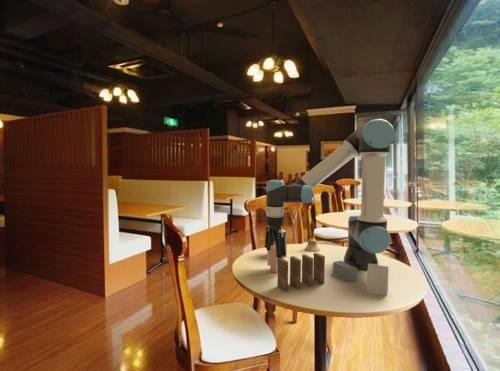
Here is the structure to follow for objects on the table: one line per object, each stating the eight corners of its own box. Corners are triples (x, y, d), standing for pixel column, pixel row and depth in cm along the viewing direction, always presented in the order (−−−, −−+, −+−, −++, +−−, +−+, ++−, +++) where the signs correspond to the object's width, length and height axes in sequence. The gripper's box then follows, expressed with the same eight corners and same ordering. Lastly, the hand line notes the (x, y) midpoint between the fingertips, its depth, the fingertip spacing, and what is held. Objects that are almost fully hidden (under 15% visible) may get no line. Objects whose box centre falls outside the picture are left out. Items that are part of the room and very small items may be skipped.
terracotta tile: (273, 269, 128) (273, 245, 127) (278, 273, 123) (279, 248, 122) (270, 269, 127) (270, 245, 126) (275, 273, 122) (275, 248, 122)
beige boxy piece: (386, 295, 102) (387, 268, 101) (366, 291, 105) (367, 264, 105) (387, 292, 105) (388, 265, 104) (368, 287, 108) (368, 262, 108)
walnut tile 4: (316, 279, 117) (316, 252, 116) (324, 283, 112) (324, 256, 111) (313, 279, 116) (313, 253, 115) (320, 284, 111) (321, 256, 111)
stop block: (340, 271, 125) (340, 260, 124) (357, 280, 116) (357, 268, 115) (332, 273, 123) (333, 261, 123) (349, 281, 114) (349, 269, 114)
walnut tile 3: (305, 281, 114) (305, 254, 114) (312, 286, 110) (313, 258, 109) (301, 282, 114) (302, 254, 113) (309, 286, 109) (309, 258, 108)
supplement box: (287, 256, 145) (287, 231, 145) (278, 257, 144) (278, 232, 143) (280, 252, 153) (281, 228, 152) (272, 252, 152) (272, 228, 151)
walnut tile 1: (281, 285, 110) (281, 257, 109) (287, 291, 105) (288, 261, 105) (277, 286, 109) (277, 258, 109) (284, 291, 105) (284, 262, 104)
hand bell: (305, 251, 155) (305, 222, 154) (304, 247, 163) (304, 219, 162) (320, 251, 154) (321, 222, 153) (318, 247, 162) (319, 219, 161)
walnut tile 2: (293, 283, 112) (293, 256, 111) (300, 288, 108) (300, 259, 107) (289, 284, 112) (290, 256, 111) (296, 289, 107) (297, 260, 106)
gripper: (257, 213, 131) (257, 261, 133) (278, 220, 113) (278, 277, 114) (271, 212, 134) (271, 259, 136) (295, 219, 116) (294, 274, 117)
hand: (274, 267), depth 125 cm, fingers open, 7 cm apart
